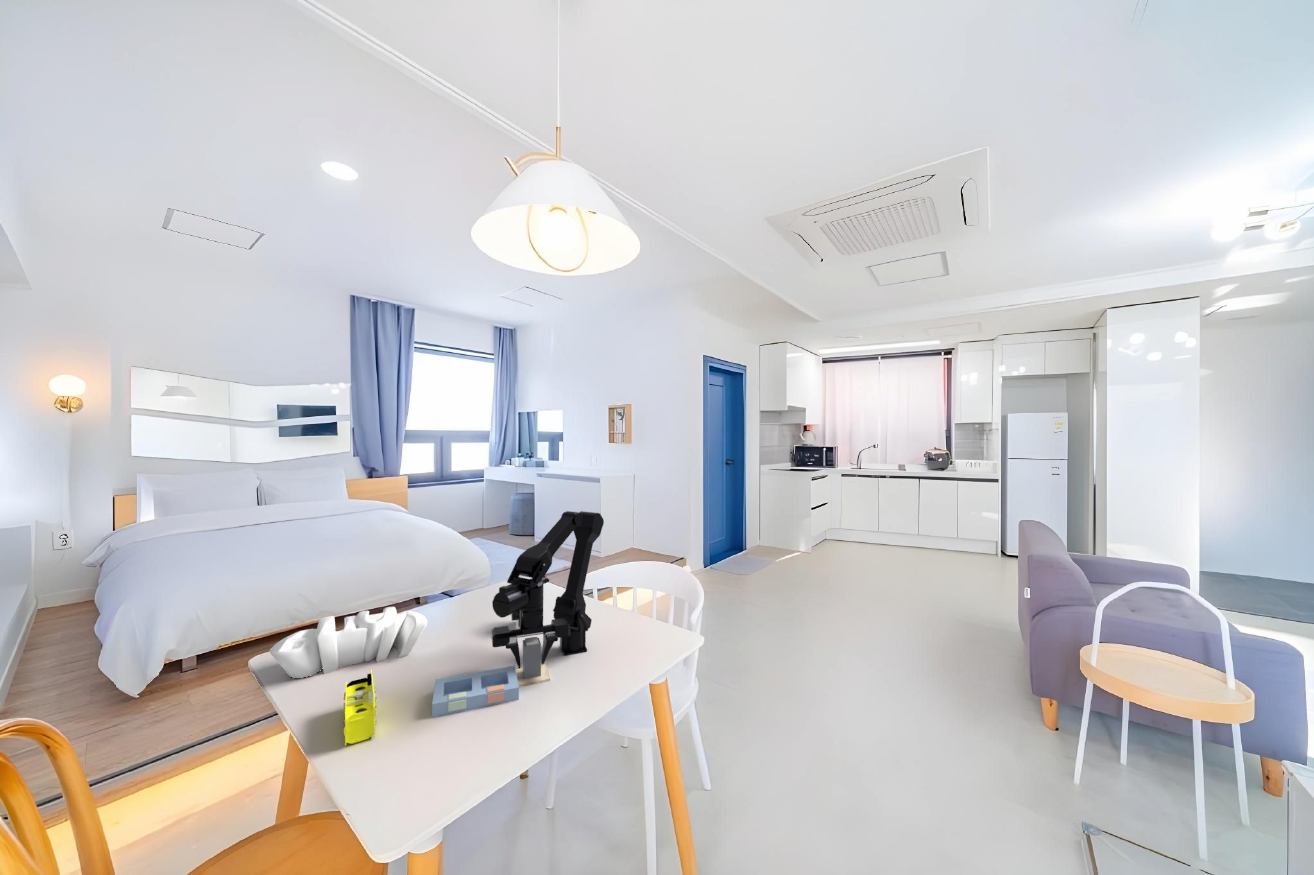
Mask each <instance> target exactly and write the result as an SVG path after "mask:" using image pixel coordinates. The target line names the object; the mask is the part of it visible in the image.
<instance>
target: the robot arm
mask: <svg viewBox="0 0 1314 875" xmlns="http://www.w3.org/2000/svg"><path fill="white" fill-rule="evenodd" d="M560 516H561V517H560V518H559V519H558V521H557V522H556V523H555V524H554V525H553V526H552V527H551V529H550V530H549V531H547V533H546V535H545V536H543V538H542V539H541V540H540V541H539V542H538V543H537V544H536V545H533V546H531V547H529V548H527V549H526V550H524V551H523V552H521V553H520V555H519V556H518V557H517V559H516V561H515V564H514V565H513V568H512V569H511V573H510V574H509V577H508V578H507V580H506V583H507V584H508V585H503V586H499V588H498V592H497V593H496V594H494V596H493V600H492V603H491V604H492V609H493V611H494V613H495V614H496V616H498V617H499V618H507V617H509V616H511V621H513V622H515V621H516V620H518V626H519V627H520V629H516V628H515V629H510V628H509V625H505V626H503V625H502V626H496V627H493V628H492V629H491V643H492V648H500V647H505V649H508V650H509V649H510V651H511V652H512V654H513V656H514V659H515V662H516V665H517V669H520V668H521V666H522V665H521V656H520V648H519V642H518V641H519V640H518V638H525V637H526V638H527V637H530V636H532V637H533V636H539V635H542V637H543V638H542V646H541V664H542V665H543V664H545V662H546V659H547V657H548V654H549V652H550V650H551V648H552V647H553V645H554V643H555V642H558V641H559V648H560V651H562V653H563V655H564V656H570V655H575V654H582V653H586V652H588V648H587V646H586V643H587V642H586V639H587V638H586V636H587V634H586V633H587V632H588V631H589V629H590V628H591V626H592V618H591V617H590V616H589V615H588V614H587V613H586V608H587V605H586V600H585V597H584V589H585V584H586V580H587V574H588V568H589V564H590V560H591V554H592V551H593V550H592V549H593V544H594V543H595V541H597V539H598V538H599V537H600V535H601V533H602V529H603V527H604V523H605V522H604V517H603V516H602V514H601V513H600V512H595V511H594V512H592V511H584V510H582V511H579V512H578V511H569V510H567V511H564V512H563V513H562V514H561V515H560ZM572 533H573V534H574V537H575V539H576V540H575V546H574V550H573V554H572V560H571V564H570V568H569V572H568V578H567V583H566V587H565V590H564V592H563V594H561V596H557V597H556V598H555V605H554V607H553V609H552V612H553V619H551V621H550V624H546V625H544V584H547V583H549V582H550V578H548V577H546V575H547V573H548V572H549V569H550V567H551V566H552V564H553V557H554V556H555V554H556V553H557V551H558V550H559V549H560V548H561V546H563V543H565V542H566V540H567V539H568V538H569V536H571V534H572ZM520 576H521V577H520Z"/></svg>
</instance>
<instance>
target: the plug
mask: <svg viewBox="0 0 1314 875" xmlns="http://www.w3.org/2000/svg"><path fill="white" fill-rule="evenodd" d="M541 656H542V644H541V640H540V638H539V637H538V636H532V637H526V638H525V637H524V639H523V640H522V668H523V676H524V679H529V678H534V677H539V676H541V664H542V663H541Z"/></svg>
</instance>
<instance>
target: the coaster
mask: <svg viewBox="0 0 1314 875" xmlns="http://www.w3.org/2000/svg"><path fill="white" fill-rule="evenodd" d="M515 670H516V675H517V680H518V685H519V688H521V687H526V686H532V685H537V684H542V683H546V682H550V681H551V676H550V673H549V671H548V667H547V665H546V663H544V664H543V665H542V663H541V676H539V677H534V678H529V679H524V676H523V667H520V669H519V668H515Z"/></svg>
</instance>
